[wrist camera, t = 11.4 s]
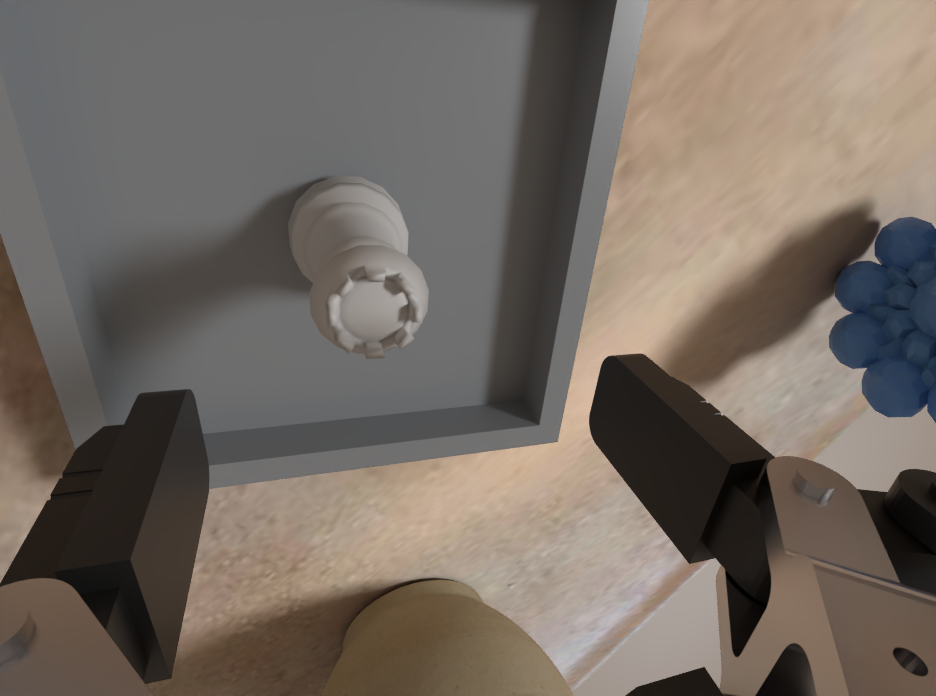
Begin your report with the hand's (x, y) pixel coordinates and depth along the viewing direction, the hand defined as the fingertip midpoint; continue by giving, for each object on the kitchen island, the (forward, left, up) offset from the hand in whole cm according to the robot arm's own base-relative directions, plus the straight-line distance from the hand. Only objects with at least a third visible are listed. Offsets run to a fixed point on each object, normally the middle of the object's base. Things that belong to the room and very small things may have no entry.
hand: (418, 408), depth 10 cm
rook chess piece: (0, 0, -12) cm, 12 cm away
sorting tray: (0, 0, -13) cm, 13 cm away
